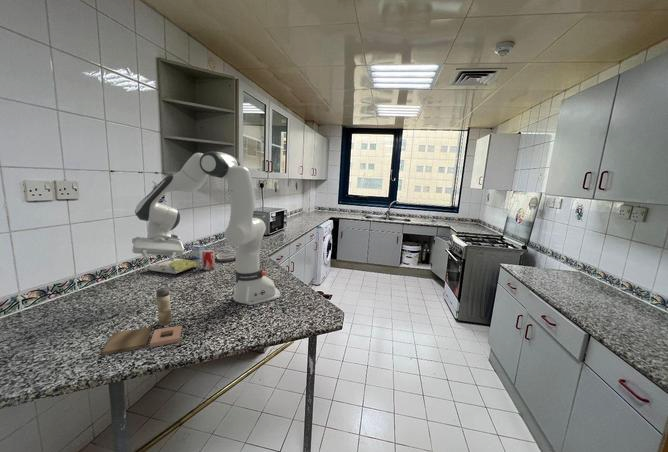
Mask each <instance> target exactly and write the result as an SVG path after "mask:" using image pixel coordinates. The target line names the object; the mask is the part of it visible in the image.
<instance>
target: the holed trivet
mask: <svg viewBox="0 0 668 452" xmlns="http://www.w3.org/2000/svg"><path fill="white" fill-rule="evenodd" d="M182 330H183V326H182V325H176V326H171V327H170V326H169V327H165V328H164V327H163V328H158V329H154V331H153V333H152V337H151V339H150V342H149V345H150V346H149V348H153V347H158V346H159V347H160V346H164V345H168V344H174V343H178V342H179V343H180V342H181V337H182Z"/></svg>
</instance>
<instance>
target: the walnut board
mask: <svg viewBox="0 0 668 452" xmlns="http://www.w3.org/2000/svg"><path fill="white" fill-rule="evenodd" d="M152 330H153V327H152V326H149V327H143V328H142V327H141V328H135V329H130V330H122V331H117V332H112V334H111V336H110V338H109V339H108V341H107V343H106V345H105V346H104V347H103V350H101V355H102V356H106V355H111V354H116V353H122V352H128V351H133V350H139V349H144V348H146V346H147V344H148V342H149V339H150V336H151V333H152Z"/></svg>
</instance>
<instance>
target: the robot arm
mask: <svg viewBox="0 0 668 452" xmlns="http://www.w3.org/2000/svg"><path fill="white" fill-rule="evenodd" d="M251 175H252V174H251V173H250V170H249V168H248V167H246V166H244V165H241V162H240V160H239V159H238V158H237V157H236V156H234V155H233V154H229V153H225V152H221V151H213V150H212V151H207V152H204V153H202V152H195V153H193V154H192V156H190V157H189V158H188V159H187V161H186V162H185V163H184V165H183V166H182V168H181V169H180V170H179V171H177V172H176V173H174V174H168V175H167V176H165V177H164V178H163V179H162V180H161V181H160V182H159V183H158V184H157V185H156V186H155V187H154V188H153V189H152V190H151V191H150V192H149V193H148V194H147V195H146V196H145V197H144V198H143V199H141V201H140V202H138V204H137V205H136V206H135V210H134V213H135V215H136V217H137V218H138V219H139V220H140V221H145V222H148V223H147V237H140V236H139V237H138V236H136V237H133V238H132V240H131V243H132V244H133V245H132V248H131V251H132V253H134V254H139V255H140V254H141V256H143V257H144V260H145V261H147V260H148V261H149V260H150V255H158V256H159V255H160V256H169V261H173V260H174V259H175V257H181V256H183V254H184V252H185V247H184V244H183V241H182V240H181V236H179V235H176V234H173V233H170V231H173V230H174V229H175V228H177V226H179V224H180V221H181V214H180V212H179V210H178V209H177V208H174V207H172V206H168V205H165V204H162V203H159V201H160V200H161V199H162V198H163V197H164V195H166V194H167V193H169V192H183V193H193V192H195V191H196V192H197V191H198V190H200V188H201V187H202V186H203V185H204V184H205V183H206V180H207V179H208V177H209V176H211V177H215V178H219V179H223V178H224V179H225V180H226V183H227V187H228V193H229V195H228V196H229V201H230V204H229V205H230V214H229V215H230V216H229V221H228V225H227V227H226V229H225V231H224V238H225V240H226V242H227V243H228V244H230V245H232V246H235V247H238V248H237V251H236V252H237V253H236V256H235V270H234V282H235V287H234V294H233V297H232V300H233V301H235V302H237V303H241V304H244V305H249V306H252V305H253V306H254V305H256V304H261V303H264V302H268V301H274V300H278V299H279V298H281V291H280V290H279V289H278V288H277V287H276V286H275V283H274V281H273V280H272V279H271V278H269V277H267V275H266V274H267V273H266V271H265V270H264V269H263V268H262V267H260V252H261V246H262V242H263V238H264V234H265V233H266V230H267V226H266V223H265V222H264V220H262V219H261V218H259V217H253V216H254V211H255V209H256V197H255V188H254V183H253V178H252V176H251ZM277 298H278V299H277Z"/></svg>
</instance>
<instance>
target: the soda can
mask: <svg viewBox="0 0 668 452" xmlns="http://www.w3.org/2000/svg"><path fill="white" fill-rule="evenodd" d="M215 259H216V255H215V251H214V250H213V249H210V248H209V249H204V251H203V253H202V259H201V261H202V269H203V270H205V271H212V270H214V269H215V268H216V261H215Z"/></svg>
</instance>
